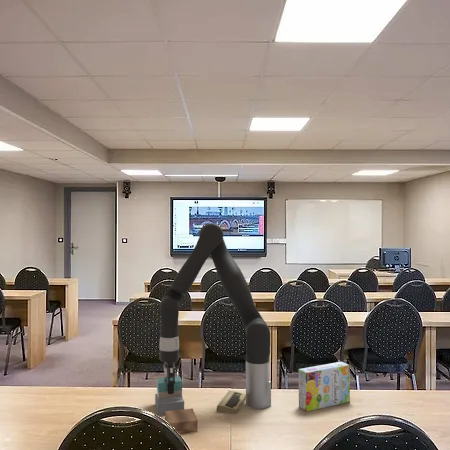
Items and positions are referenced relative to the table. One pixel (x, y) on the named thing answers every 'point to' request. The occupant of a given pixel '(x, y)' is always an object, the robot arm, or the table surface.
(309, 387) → the snack box
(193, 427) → the stand
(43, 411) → the table surface
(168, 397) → the housing
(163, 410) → the stand
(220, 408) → the computer
